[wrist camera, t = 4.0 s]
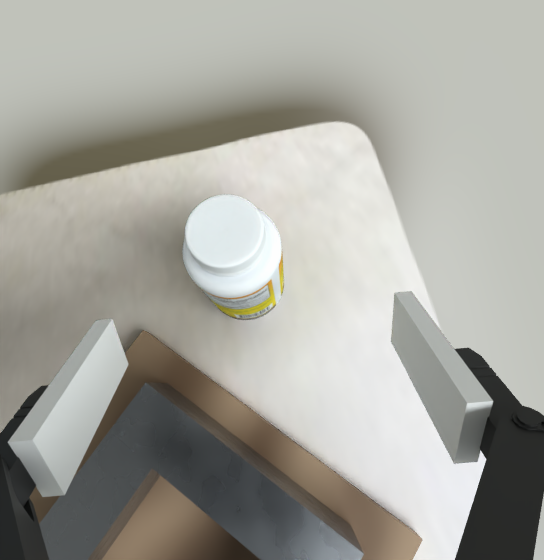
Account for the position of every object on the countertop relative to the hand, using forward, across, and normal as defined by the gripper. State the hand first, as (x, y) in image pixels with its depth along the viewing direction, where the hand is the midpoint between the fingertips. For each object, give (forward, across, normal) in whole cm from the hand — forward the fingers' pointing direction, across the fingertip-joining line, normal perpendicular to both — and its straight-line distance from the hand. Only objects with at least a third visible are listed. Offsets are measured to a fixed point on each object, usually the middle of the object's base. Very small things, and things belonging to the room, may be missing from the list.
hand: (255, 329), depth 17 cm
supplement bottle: (+10, -1, -3) cm, 11 cm away
